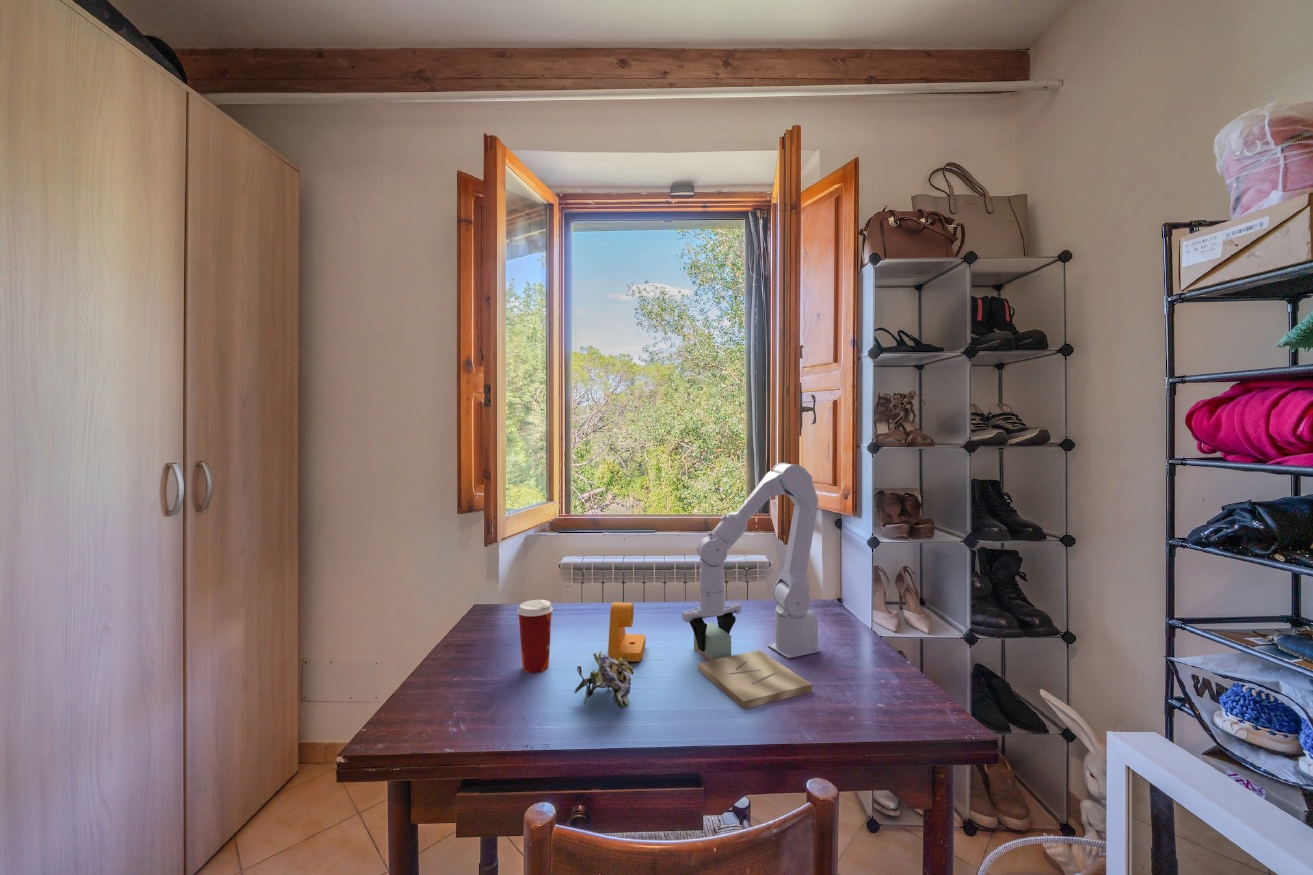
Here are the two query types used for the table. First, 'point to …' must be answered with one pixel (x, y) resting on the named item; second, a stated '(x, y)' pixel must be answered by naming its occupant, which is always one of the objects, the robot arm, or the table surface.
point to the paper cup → (535, 634)
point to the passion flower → (609, 678)
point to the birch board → (753, 679)
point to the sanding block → (715, 643)
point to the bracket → (618, 640)
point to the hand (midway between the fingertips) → (712, 647)
